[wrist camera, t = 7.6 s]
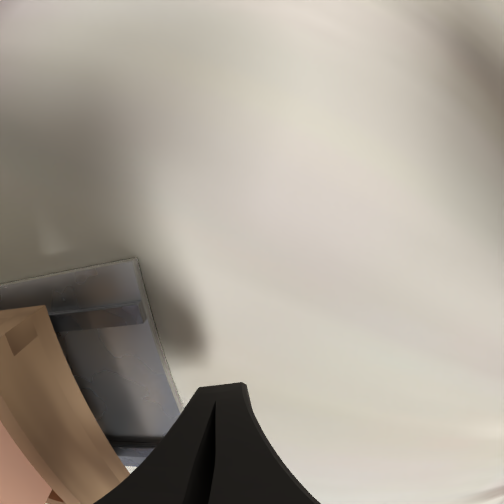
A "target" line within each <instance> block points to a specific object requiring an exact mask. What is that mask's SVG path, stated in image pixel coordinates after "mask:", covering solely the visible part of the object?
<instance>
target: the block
mask: <svg viewBox="0 0 504 504" xmlns="http://www.w3.org/2000/svg"><path fill="white" fill-rule="evenodd" d="M51 491H52V488H51V487H50V486H49V485H48V484H47V483H46V481H45V480H44V479H43V478H42V477H41V476H40V474H39V473H38V472H37V471H36V469H35V468H34V467H33V466H32V465H31V463H30V462H29V461H28V459H27V458H26V457H25V456H24V454H23V453H22V451H21V450H20V449H19V447H18V446H17V445H16V443H15V442H14V440H13V439H12V438H11V436H10V435H9V433H8V432H7V430H6V429H5V427H4V426H3V424H2V422H1V421H0V504H45V503H46V501H47V499H48V497H49V495H50V493H51Z"/></svg>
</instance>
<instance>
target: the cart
mask: <svg viewBox="0 0 504 504" xmlns="http://www.w3.org/2000/svg"><path fill="white" fill-rule="evenodd" d="M0 421H1V422H2V424H3V426H4V427H5V429H6V430H7V432H8V433H9V435H10V436H11V438H12V439H13V440H14V442H15V443H16V445H17V446H18V447H19V449H20V450H21V451H22V453H23V454H24V456H25V457H26V458H27V459H28V461H29V462H30V463H31V465H32V466H33V467H34V468H35V469H36V471H37V472H38V473H39V474H40V476H41V477H42V478H43V479H44V480H45V481H46V483H47V484H48V485H49V486H50V487H51V488H52V491H51V493H50V495H49V497H48V499H47V501H46V503H48V504H93V503H95V502H96V501H98V500H99V499H100V498H102V497H103V496H105V495H106V494H107V493H109V492H110V491H111V490H113V489H114V488H115V487H117V486H118V485H119V484H120V483H121V482H122V481H123V480H124V479H126V478H127V477H128V476H129V475H130V473H129V472H128V470H127V469H126V468H125V466H124V465H123V463H122V462H121V460H120V459H119V457H118V456H117V454H116V453H115V451H114V449H113V448H112V446H111V445H110V443H109V441H108V440H107V438H106V436H105V435H104V433H103V431H102V430H101V428H100V426H99V425H98V423H97V421H96V419H95V418H94V416H93V414H92V412H91V410H90V408H89V406H88V405H87V403H86V401H85V399H84V397H83V395H82V393H81V391H80V389H79V387H78V385H77V383H76V381H75V378H74V376H73V374H72V372H71V370H70V367H69V365H68V363H67V361H66V358H65V356H64V354H63V351H62V349H61V346H60V344H59V341H58V339H57V336H56V334H55V331H54V328H53V326H52V323H51V320H50V317H49V314H48V311H47V308H46V305H40V306H32V307H24V308H17V309H9V310H0Z"/></svg>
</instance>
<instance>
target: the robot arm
mask: <svg viewBox="0 0 504 504" xmlns="http://www.w3.org/2000/svg"><path fill="white" fill-rule="evenodd" d="M93 504H320V503H319V502H318V501H317V500H316V499H315V498H314V497H313V496H312V495H311V494H310V493H309V492H308V491H307V490H306V489H305V488H304V487H303V486H302V484H301V483H300V482H299V481H298V480H297V479H296V478H295V476H294V475H293V474H292V473H291V472H290V470H289V469H288V468H287V467H286V465H285V464H284V463H283V462H282V460H281V459H280V457H279V456H278V455H277V453H276V452H275V450H274V449H273V447H272V446H271V444H270V443H269V441H268V439H267V438H266V436H265V434H264V433H263V431H262V429H261V427H260V425H259V423H258V421H257V419H256V417H255V415H254V413H253V410H252V406H251V402H250V398H249V394H248V389H247V385H246V384H244V383H242V382H239V383H232V384H224V385H216V386H207V387H199V388H198V389H197V391H196V392H195V394H194V395H193V396H192V398H191V400H190V401H189V403H188V404H187V406H186V407H185V408H184V410H183V411H182V413H181V414H180V416H179V417H178V419H177V420H176V421H175V423H174V424H173V425H172V427H171V428H170V429H169V431H168V432H167V433H166V435H165V436H164V437H163V439H162V440H161V441H160V442H159V444H158V445H157V446H156V447H155V448H154V449H153V451H152V452H151V453H150V454H149V455H148V456H147V457H146V459H145V460H144V461H143V462H142V463H141V464H140V465H139V466H138V467H137V468H136V469H135V470H134V471H133V472H132V473H131V474H130V475H129V476H128V477H127V478H126V479H124V480H123V481H122V482H121V483H120V484H119V485H118V486H117V487H115V488H114V489H113V490H111V491H110V492H109V493H107V494H106V495H105V496H103V497H102V498H100V499H99V500H98V501H96V502H95V503H93Z"/></svg>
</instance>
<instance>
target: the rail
mask: <svg viewBox="0 0 504 504" xmlns="http://www.w3.org/2000/svg"><path fill="white" fill-rule="evenodd" d="M40 305H46V308H47V311H48V314H49V317H50V320H51V323H52V326H53V328H54V331H55V334H56V336H57V339H58V341H59V344H60V346H61V349H62V351H63V354H64V356H65V358H66V361H67V363H68V365H69V367H70V370H71V372H72V374H73V376H74V378H75V381H76V383H77V385H78V387H79V389H80V391H81V393H82V395H83V397H84V399H85V401H86V403H87V405H88V406H89V408H90V410H91V412H92V414H93V416H94V418H95V419H96V421H97V423H98V425H99V426H100V428H101V430H102V431H103V433H104V435H105V436H106V438H107V440H108V441H109V443H110V445H111V446H112V448H113V449H114V451H115V453H116V454H117V456H118V457H119V459H120V460H121V462H122V463H123V465H124V466H136V467H138V466H139V465H140V464H141V463H142V462H143V461H144V460H145V459H146V457H147V456H148V455H149V454H150V453H151V452H152V451H153V449H154V448H155V447H156V446H157V445H158V444H159V442H160V441H161V440H162V439H163V437H164V436H165V435H166V433H167V432H168V431H169V429H170V428H171V427H172V425H173V424H174V423H175V421H176V420H177V419H178V417H179V416H180V414H181V413H182V411H183V410H184V408H183V405H182V402H181V400H180V397H179V395H178V392H177V389H176V386H175V384H174V381H173V378H172V375H171V372H170V369H169V367H168V364H167V361H166V358H165V355H164V352H163V349H162V345H161V342H160V339H159V336H158V333H157V329H156V326H155V323H154V319H153V316H152V313H151V309H150V305H149V302H148V298H147V295H146V291H145V287H144V283H143V279H142V275H141V271H140V267H139V263H138V259H137V258H131V259H126V260H121V261H115V262H110V263H105V264H99V265H94V266H89V267H84V268H79V269H73V270H68V271H63V272H58V273H53V274H48V275H43V276H38V277H33V278H28V279H23V280H18V281H13V282H8V283H3V284H0V310H9V309H17V308H24V307H32V306H40Z"/></svg>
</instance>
